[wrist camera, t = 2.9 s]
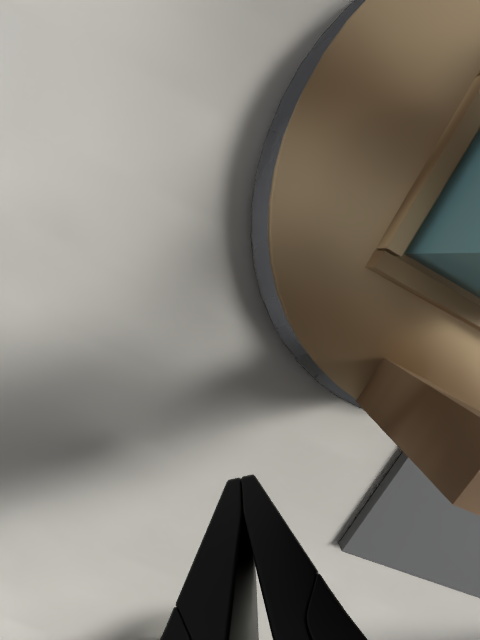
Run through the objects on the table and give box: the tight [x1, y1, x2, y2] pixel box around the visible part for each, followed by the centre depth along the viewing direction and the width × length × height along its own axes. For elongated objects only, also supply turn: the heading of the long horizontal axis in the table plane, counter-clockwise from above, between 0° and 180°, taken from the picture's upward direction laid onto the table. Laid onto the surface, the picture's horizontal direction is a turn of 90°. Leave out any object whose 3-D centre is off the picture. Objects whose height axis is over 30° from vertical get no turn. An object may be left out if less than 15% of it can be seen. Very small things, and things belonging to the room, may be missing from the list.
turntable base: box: [251, 0, 366, 408], centre depth 11 cm, size 17×17×1 cm
